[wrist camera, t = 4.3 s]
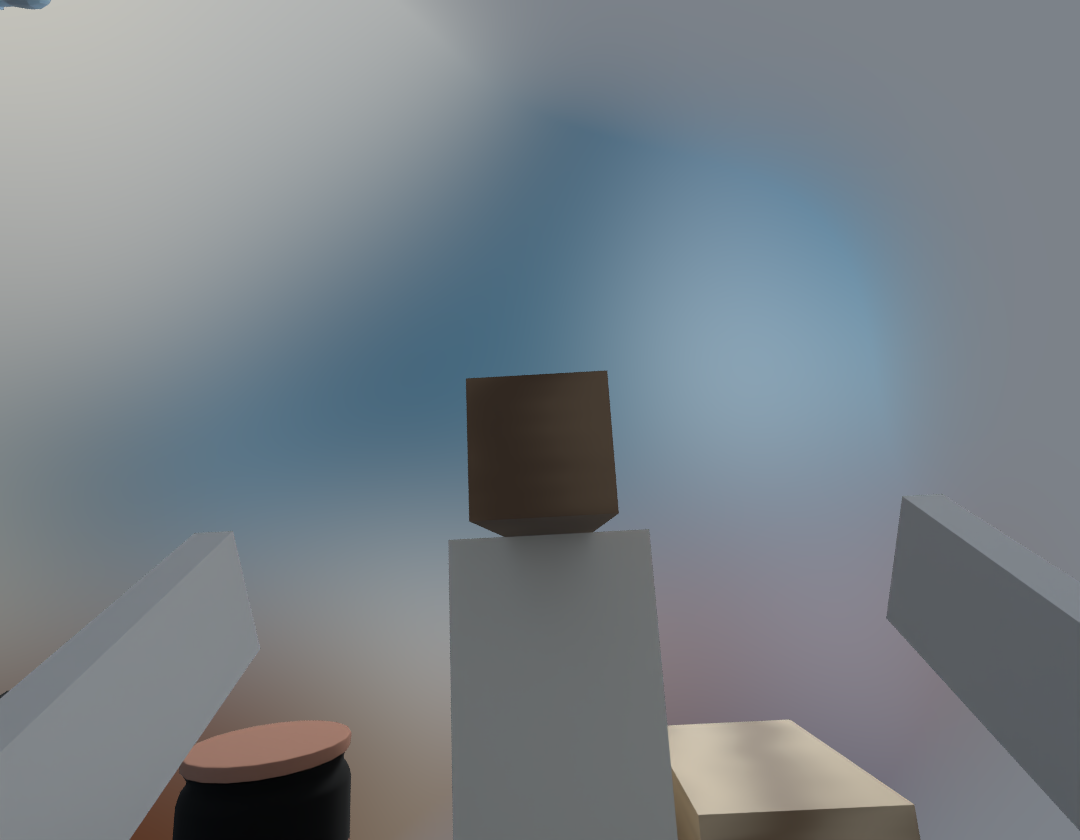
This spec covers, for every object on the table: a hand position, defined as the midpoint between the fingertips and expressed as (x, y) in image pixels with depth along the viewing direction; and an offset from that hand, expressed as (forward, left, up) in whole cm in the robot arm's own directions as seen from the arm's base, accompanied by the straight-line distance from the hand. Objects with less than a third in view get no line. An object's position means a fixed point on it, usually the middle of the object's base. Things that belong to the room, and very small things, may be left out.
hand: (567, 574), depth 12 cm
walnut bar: (0, +15, +1) cm, 15 cm away
